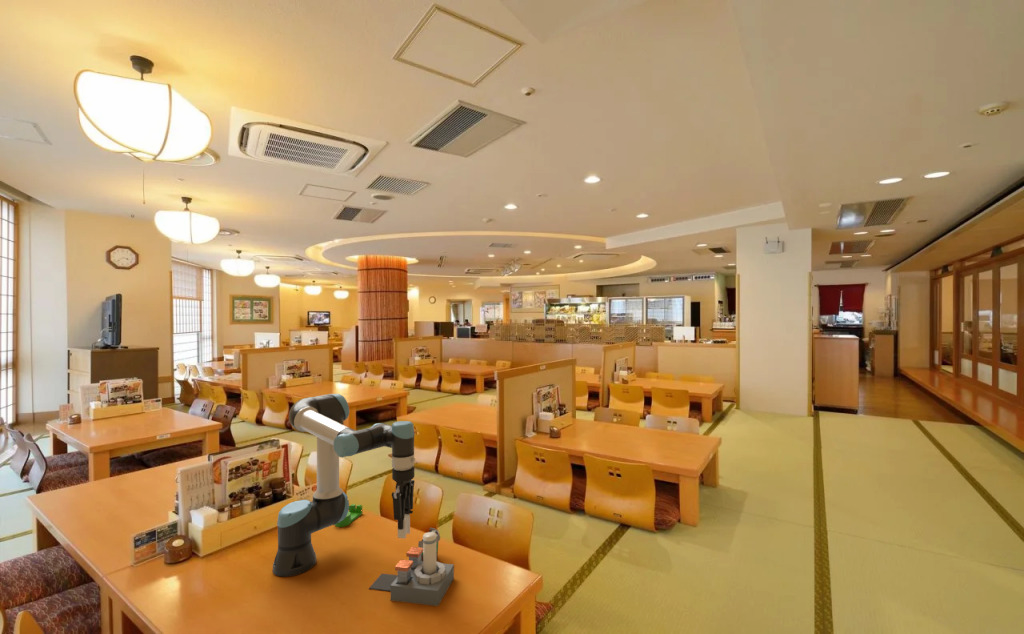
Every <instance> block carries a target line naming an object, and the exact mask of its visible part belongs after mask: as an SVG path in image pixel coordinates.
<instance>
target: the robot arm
mask: <svg viewBox="0 0 1024 634" xmlns="http://www.w3.org/2000/svg"><path fill="white" fill-rule="evenodd" d="M349 415H350V407H349V402H348V401H347V400H346V397H344V396H343V395H342V394H340V393H328V394H321V395H317V396H311V397H304V398H301V399H298V400H297V401H296V402H295V403H294V404H293V405H292V406H291V408H290V410H289V412H288V422H289V424H290V425H291V427H292V428H293V429H295V430H297V431H299V432H302V433H305V432H307V433H309V434H311V435H313V436H315V437H316V490H315V491H314V492H313V494H312V501H310V500H308V499H300V500H296V501H292V502H290V503H288V504H286V505H285V506H283V507H281V509H280V511H279V512H278V515H277V521H276V525H277V550H276V554H275V556H274V560H273V563H272V573H273V574H274V575H275V576H277V577H283V578H284V577H294V576H297V575H301V574H303V573H305V572H308V571H309V570H311V569H312V568H313V567H314V566H315V565H316V563H317V554H316V551H315V550H314V547H313V544H312V534H314V533H316V532H318V531H321V530H324V529H326V528H328V527H332V526H335V524H337V523H338V522H340V521H342V520H344V518H345V517H346V516H347V514H348V511H349V506H350V501H349V498H348V495H347V494H346V493H345V492H344V490H343V489H342V488H341V487H340V458H346V457H352V456H355V455H358V454H362V453H364V452H369V451H372V450H376V449H378V448H379V449H380V448H383V447H386V448H391V467H392V470H391V479H392V481H394V482H395V492H394V491H393V492H392V493H391V499H392V508H393V520H394V521H397V538H398V539H406V538H407V534H408V535H409V534H411V514H413V512H414V510H413V508H414V492H415V491H414V486H415V480H414V478H415V460H416V458H415V427H414V423H413V422H412V421H408V420H400V421H395V422H393V423H392V425H391V424H387V423H385V422H383V423H382V422H378V423H374V424H373V425H372V426H370V427H368V428H362V429H358V430H355V429H353V428H351V427H349V426H347V425H344V421H347V419H348V418H349Z"/></svg>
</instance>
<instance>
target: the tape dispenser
mask: <svg viewBox="0 0 1024 634" xmlns="http://www.w3.org/2000/svg"><path fill="white" fill-rule="evenodd" d="M361 510H362V511H361ZM362 515H363V505H362V504H356V503H352V504H349V510H348V514H347V516H346V517H345V518H344V520H342V521H340V522H338V523H337V524H335V525H334V526H335V527H337V528H343V527H347V526H349V525H351V523H352V522H354V521H355V520H356V519H358V518H359V517H360V516H362Z"/></svg>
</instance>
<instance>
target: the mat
mask: <svg viewBox="0 0 1024 634" xmlns="http://www.w3.org/2000/svg"><path fill="white" fill-rule="evenodd" d="M397 577H398V576H397V574H389V573H388V574H387V573H381V574H380V575H379V576H378V577H376V579H375V581H374V582H373V583H372V584H371V585H370V586H369V588H368V589H369V590H376V591H383V592H391V586H390V585H391V584H392V583H393V582H394V580H395V579H396V578H397Z"/></svg>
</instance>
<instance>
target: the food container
mask: <svg viewBox="0 0 1024 634" xmlns="http://www.w3.org/2000/svg"><path fill="white" fill-rule="evenodd" d="M428 532H434V533H436V557H437V558H438V557H439V556H438V554H439V541H441V535H440V532H439V530H437V529H436V528H433V527H429V531H428ZM417 547H420V548H423V538H422V539H421V540H419V541H418V544H417ZM421 561H423V552H422V554H421Z"/></svg>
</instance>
